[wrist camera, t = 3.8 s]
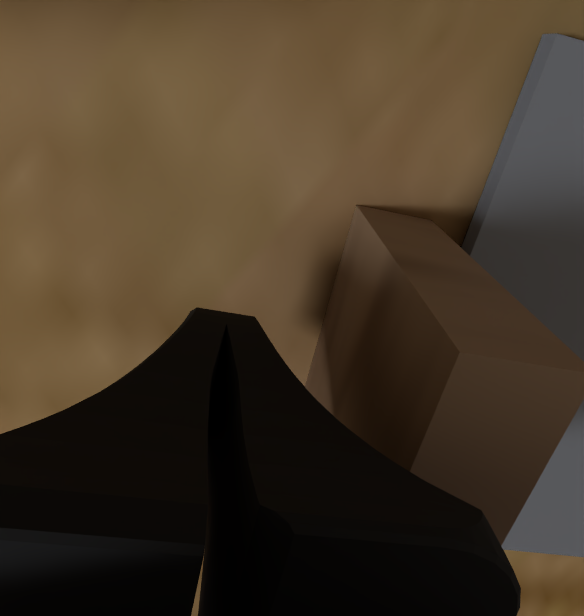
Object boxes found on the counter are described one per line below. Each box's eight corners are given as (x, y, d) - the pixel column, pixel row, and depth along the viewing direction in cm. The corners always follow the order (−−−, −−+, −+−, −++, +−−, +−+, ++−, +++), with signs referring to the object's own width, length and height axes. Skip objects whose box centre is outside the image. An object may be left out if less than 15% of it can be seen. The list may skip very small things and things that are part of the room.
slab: (365, 410, 16) (443, 648, 10) (300, 401, 15) (338, 642, 9) (431, 220, 13) (596, 373, 7) (356, 204, 13) (459, 352, 7)
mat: (589, 544, 19) (599, 558, 19) (356, 521, 18) (360, 535, 17) (867, 124, 13) (893, 128, 12) (543, 34, 11) (557, 33, 11)
